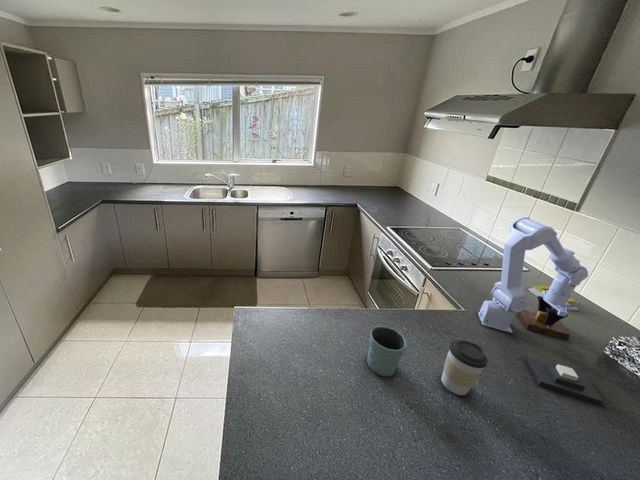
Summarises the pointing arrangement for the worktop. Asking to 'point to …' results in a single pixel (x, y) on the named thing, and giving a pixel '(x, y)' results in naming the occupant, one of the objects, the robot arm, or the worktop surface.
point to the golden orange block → (540, 316)
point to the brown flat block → (542, 325)
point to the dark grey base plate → (563, 381)
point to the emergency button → (538, 290)
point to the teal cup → (385, 350)
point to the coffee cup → (463, 366)
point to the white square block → (566, 372)
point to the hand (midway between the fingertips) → (544, 319)
